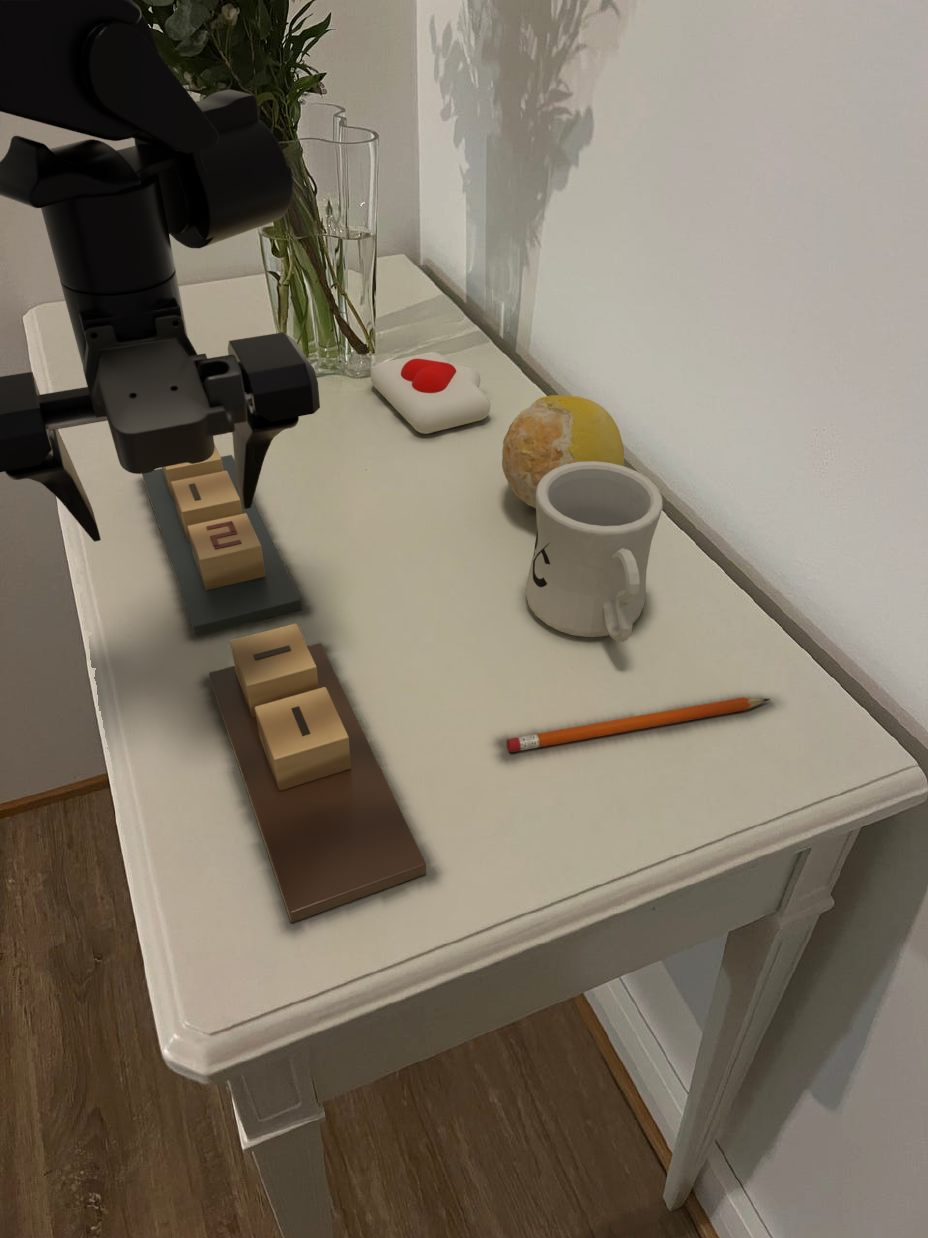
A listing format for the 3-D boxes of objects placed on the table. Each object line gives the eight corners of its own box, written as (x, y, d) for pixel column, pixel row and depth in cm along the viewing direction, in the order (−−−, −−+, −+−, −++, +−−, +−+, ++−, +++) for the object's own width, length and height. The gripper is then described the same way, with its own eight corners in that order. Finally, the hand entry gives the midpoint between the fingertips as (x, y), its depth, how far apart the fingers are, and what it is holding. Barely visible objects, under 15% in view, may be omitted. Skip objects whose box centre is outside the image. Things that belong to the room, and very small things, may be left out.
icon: (511, 378, 90) (418, 400, 86) (509, 418, 93) (418, 441, 89) (452, 329, 98) (365, 347, 94) (452, 367, 101) (366, 386, 97)
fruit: (554, 462, 87) (564, 362, 81) (641, 515, 81) (660, 412, 74) (471, 500, 82) (475, 397, 75) (557, 560, 76) (570, 453, 69)
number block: (265, 576, 72) (261, 544, 70) (206, 591, 70) (199, 558, 68) (251, 543, 75) (246, 511, 73) (193, 556, 74) (186, 524, 72)
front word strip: (426, 874, 54) (426, 832, 51) (291, 923, 51) (283, 881, 48) (321, 652, 67) (317, 609, 65) (210, 682, 65) (201, 639, 62)
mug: (510, 574, 75) (518, 466, 68) (617, 559, 76) (635, 453, 70) (560, 682, 66) (575, 571, 59) (679, 662, 67) (707, 552, 61)
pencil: (506, 745, 61) (506, 736, 61) (766, 699, 65) (769, 690, 64) (509, 755, 61) (510, 746, 60) (772, 708, 64) (775, 699, 64)
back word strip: (302, 609, 71) (297, 567, 68) (195, 637, 68) (186, 594, 65) (233, 463, 86) (226, 424, 83) (143, 481, 83) (134, 441, 80)
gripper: (-80, 371, 40) (25, 641, 50) (341, 307, 46) (357, 560, 56) (-82, 275, 47) (10, 527, 58) (279, 231, 53) (303, 466, 64)
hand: (173, 521), depth 58 cm, fingers open, 9 cm apart
